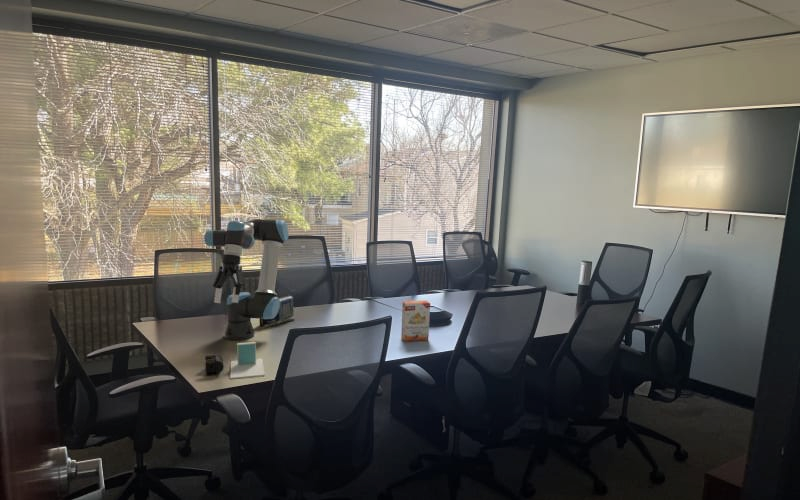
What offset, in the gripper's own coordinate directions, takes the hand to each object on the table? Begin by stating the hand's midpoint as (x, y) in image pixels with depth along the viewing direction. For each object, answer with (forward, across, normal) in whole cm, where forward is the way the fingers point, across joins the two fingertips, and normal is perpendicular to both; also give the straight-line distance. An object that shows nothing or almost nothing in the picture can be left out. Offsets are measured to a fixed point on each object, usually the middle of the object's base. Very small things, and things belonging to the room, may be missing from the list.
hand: (225, 302), depth 222 cm
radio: (+4, -43, +63) cm, 76 cm away
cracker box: (+9, +34, +95) cm, 102 cm away
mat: (+28, +2, +14) cm, 31 cm away
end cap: (+30, -6, +3) cm, 31 cm away
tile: (+21, 0, +14) cm, 26 cm away
